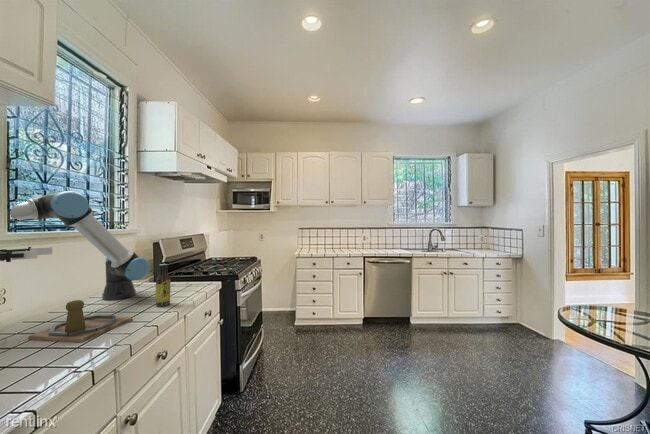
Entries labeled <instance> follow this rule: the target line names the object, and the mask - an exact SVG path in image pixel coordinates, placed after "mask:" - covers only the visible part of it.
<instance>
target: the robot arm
mask: <svg viewBox="0 0 650 434" xmlns="http://www.w3.org/2000/svg"><path fill="white" fill-rule="evenodd" d="M26 200H27V201H26ZM26 200H25V201H26V202H25V201H21V202H22V203H20V204H17V205H16V206H14V207H13V208H12V209H11V211H10V214H11V217H12V218H13V219H17V220H19V221H23V220H25V221H26V220H29V219H32V220H35V221H36V220H37V221H38V220H42V219H59V220H60V221H61V222H62V223H63V224H64V225H65V226H67V227H73V228H74V229H76V231H77V232H79V233H80V234H81V235H82V236H83V237H84V238H85V239H86V240H87V241H88V242H90V243H91V245H93V247H95V248H96V249H97V250H99V252H100V253H101V254H102V255H103V256H105V262H104V264H105V286H104V290H103V293H102V294H101V298H102V300H104V301H117V300H123V299H128V298H131V297H134V296H136V294H137V291H136V289H135V287H134V283H133V281H139V280H141V279H143V278H145V277H146V276H147V275H148V272H149V269H150V264H149V261H148V260H147V259H146V258H144V257H140V256H139V255H138V254H137V253H136V252H135V251H134V250H132V249H130V250H129V249H127V248H126V247H125V246H124V245H123V244H122V243H121V242H120V241H119V240H118V239H117V238H116V237H115V236H114V235H113V234H112V233H111V232H110V231H109V230H108V229H107V228H106V227H105V226H104V225H103V224H102V223H101V222H100V221H99V220H98V219H97V218H96V217H95V216H94V214H93V212H94V210H93V209H92V208H91V207H90V206H89V201H88V200H87V198H86V197H85V196H84V195H83V194H81V193H79V192H77V191H71V190H63V191H59V192H53V193H49V194H45V195H41V196H37V197H33V198H32V197H31V198H27V199H26ZM34 203H35V204H34ZM42 255H43V256H46V255H53V247H35V248H34V247H33V248H32V247H31V246H28V247H27V248H15V249H5V248H3V249H0V262H4V261H5V262H6V263H11V262H12V261H14V260H30V259H32V260H33V259H38V256H42Z"/></svg>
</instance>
